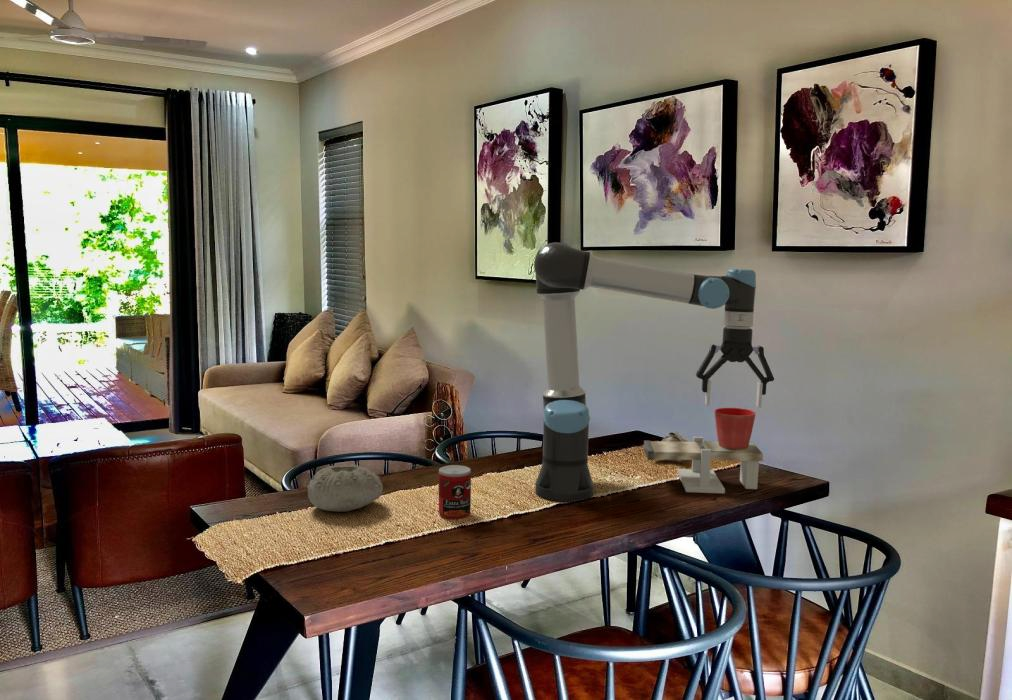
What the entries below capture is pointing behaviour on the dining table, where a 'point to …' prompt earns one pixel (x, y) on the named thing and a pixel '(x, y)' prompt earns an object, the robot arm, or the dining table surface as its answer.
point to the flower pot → (734, 427)
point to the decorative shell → (344, 488)
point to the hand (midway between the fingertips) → (732, 405)
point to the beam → (699, 451)
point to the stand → (707, 480)
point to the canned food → (454, 491)
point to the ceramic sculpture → (674, 440)
